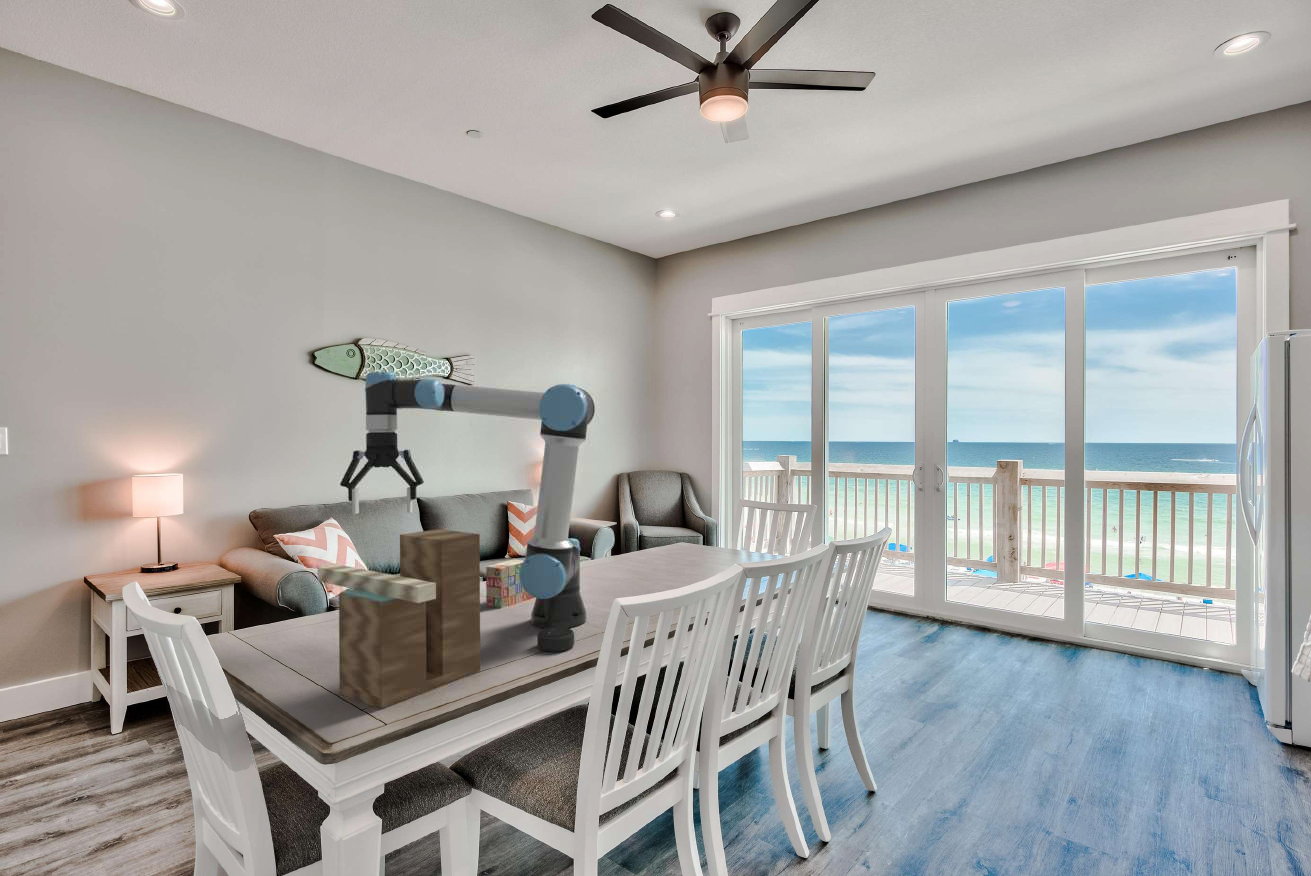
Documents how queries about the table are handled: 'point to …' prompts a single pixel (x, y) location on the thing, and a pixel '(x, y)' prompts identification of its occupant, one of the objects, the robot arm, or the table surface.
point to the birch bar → (378, 583)
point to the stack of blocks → (504, 584)
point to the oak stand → (414, 624)
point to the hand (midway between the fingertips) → (382, 513)
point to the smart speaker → (555, 639)
